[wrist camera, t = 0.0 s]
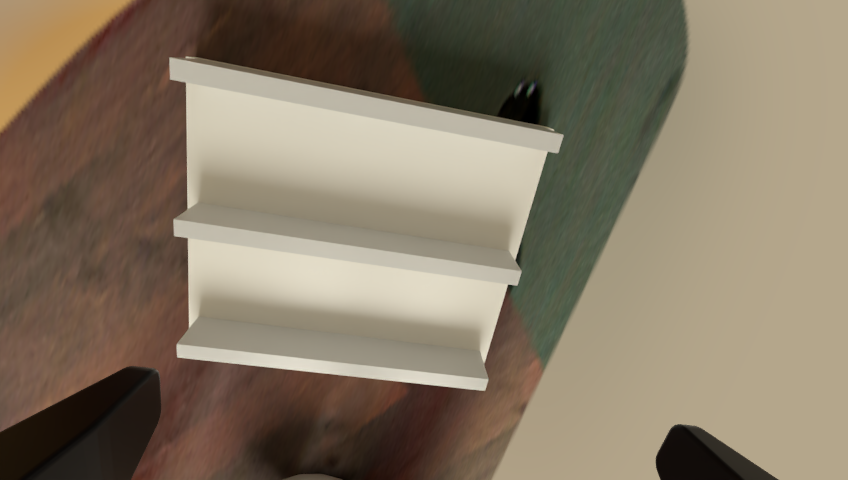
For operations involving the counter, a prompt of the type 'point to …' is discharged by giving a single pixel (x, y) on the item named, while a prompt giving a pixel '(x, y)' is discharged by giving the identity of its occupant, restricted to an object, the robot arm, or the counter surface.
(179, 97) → the counter surface
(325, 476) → the donut
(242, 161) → the tiered shelf rack
